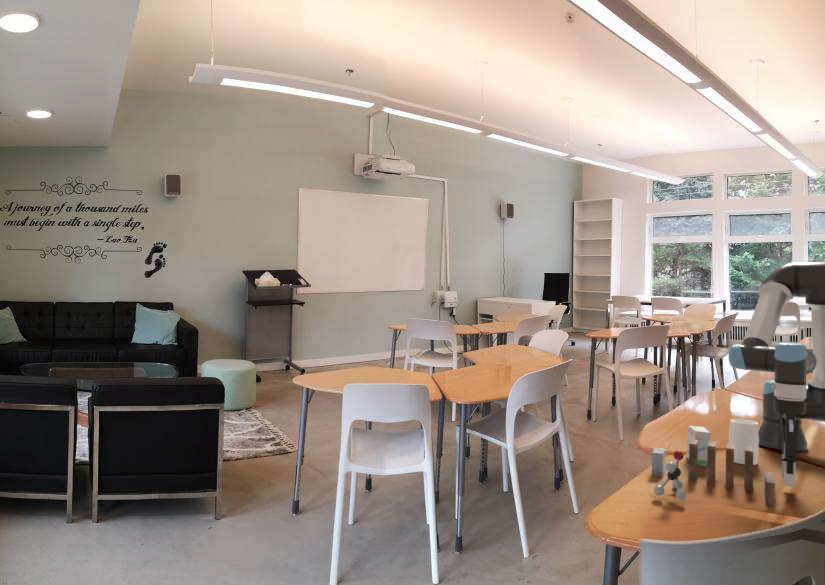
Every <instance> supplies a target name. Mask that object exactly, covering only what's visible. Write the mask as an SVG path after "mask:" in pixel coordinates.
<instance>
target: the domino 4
mask: <svg viewBox="0 0 825 585" xmlns="http://www.w3.org/2000/svg"><path fill="white" fill-rule="evenodd" d="M743 476H744V480H743V481H744V484H743V485H744V486H743V487H744V490H745V491H746V490H747V491H751V492H752V491H754V490H753V489H754V465H753V447H749V446H745V465H744V475H743Z"/></svg>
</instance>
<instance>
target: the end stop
mask: <svg viewBox="0 0 825 585" xmlns="http://www.w3.org/2000/svg"><path fill="white" fill-rule="evenodd" d="M665 465H666V448H661V447H656V446H655V447H654V448H653V451H652V452H651V476H653V477H658V478H664V475H665V471H666V468H665Z"/></svg>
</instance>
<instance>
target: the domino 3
mask: <svg viewBox="0 0 825 585" xmlns="http://www.w3.org/2000/svg"><path fill="white" fill-rule="evenodd" d="M725 445H726V447H725V448H726V449H725V487H726V488H733V489H734V486H735V485H734V483H735V482H734V478H735V475H734V474H735V462H734V445H732V444H729V443H726V444H725Z"/></svg>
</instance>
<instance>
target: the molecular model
mask: <svg viewBox="0 0 825 585" xmlns="http://www.w3.org/2000/svg"><path fill="white" fill-rule="evenodd" d="M672 456H673V459H675V460H676V461H675V463H674V462H673V461H668V462H667V463H666V462H665V471H667V474H666V476H667V477H666V478H665V480H664V481H663V482H662V483H661V485H660V484H657V485H655V486H654V487H653V492H654V494H655V495H656V496H662V495H664V493H665V488H664V487H665V486H666V485H667V483H669V481H672V482H671V483H672V484H671V485H672V488H673V489H675V497H676V498H677V499H678V500H681V501H682V500H683V501H684V500H685V499H686V498H687V493H686V491H685V490H684V489H682V488H683V486H684V485H683V482H682V481H681V480H680V479H679V477H680V476H681V475H682V470H681V469H680V468H679V463H680V461H682V460H683V459H684V458H685V457H684V453H683V452H682V451H680V450H675V451H674V452H673V454H672Z"/></svg>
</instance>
